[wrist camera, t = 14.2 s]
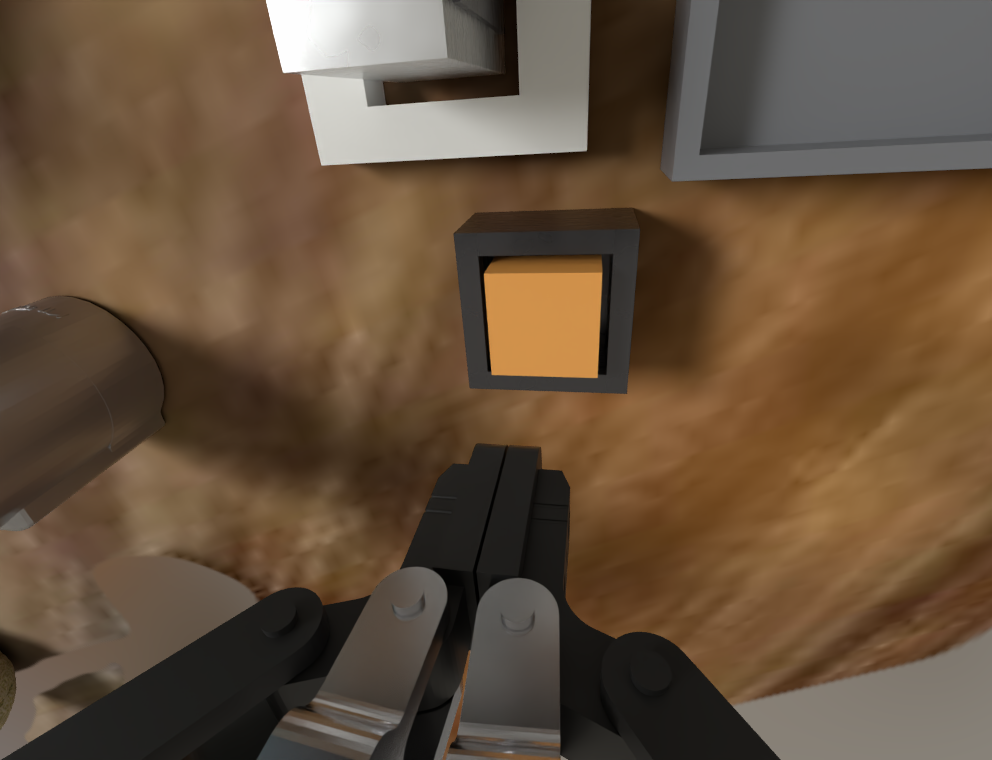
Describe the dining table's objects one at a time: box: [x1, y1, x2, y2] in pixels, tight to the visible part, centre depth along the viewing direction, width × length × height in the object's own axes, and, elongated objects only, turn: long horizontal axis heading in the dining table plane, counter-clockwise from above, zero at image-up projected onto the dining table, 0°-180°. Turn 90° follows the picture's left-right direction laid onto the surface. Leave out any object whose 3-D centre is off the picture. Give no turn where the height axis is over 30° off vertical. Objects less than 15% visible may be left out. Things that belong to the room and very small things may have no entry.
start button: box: [484, 255, 602, 378], centre depth 20 cm, size 4×4×2 cm
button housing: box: [454, 208, 640, 394], centre depth 22 cm, size 7×7×4 cm
